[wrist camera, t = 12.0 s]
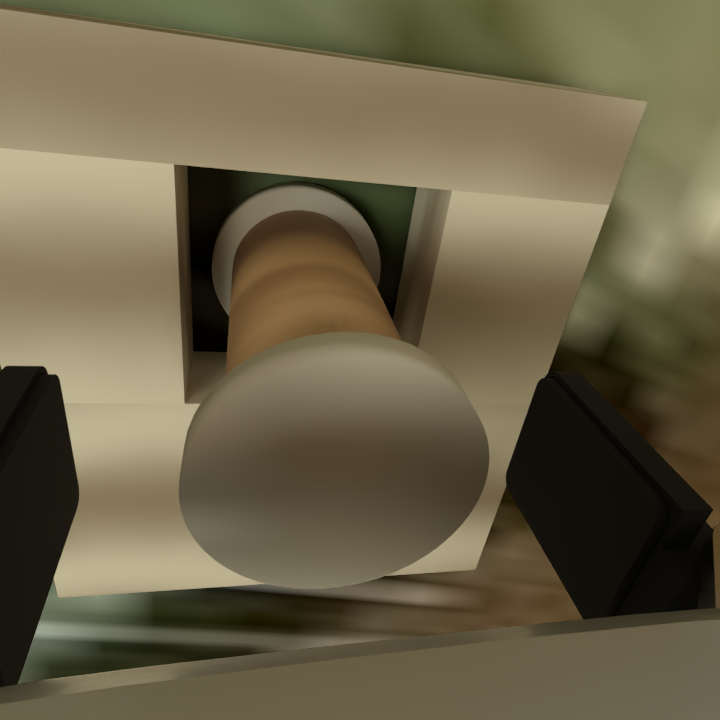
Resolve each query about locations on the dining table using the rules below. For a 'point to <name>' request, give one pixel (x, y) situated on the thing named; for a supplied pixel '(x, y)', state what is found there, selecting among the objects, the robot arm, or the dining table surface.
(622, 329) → the dining table surface
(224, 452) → the bobbin
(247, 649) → the dining table surface
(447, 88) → the socket board
